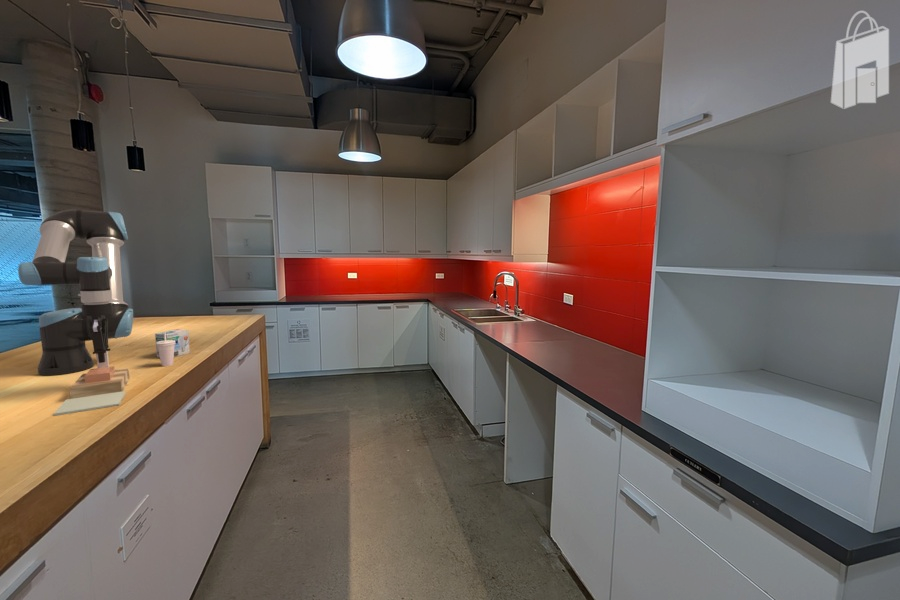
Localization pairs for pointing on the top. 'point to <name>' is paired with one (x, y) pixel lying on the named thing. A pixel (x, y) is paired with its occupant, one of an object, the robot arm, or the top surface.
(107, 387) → the deck
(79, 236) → the robot arm
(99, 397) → the mat
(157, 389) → the top surface
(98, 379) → the tile
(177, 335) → the light bulb box
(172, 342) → the smoothie
